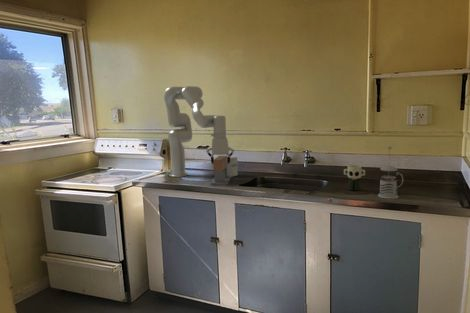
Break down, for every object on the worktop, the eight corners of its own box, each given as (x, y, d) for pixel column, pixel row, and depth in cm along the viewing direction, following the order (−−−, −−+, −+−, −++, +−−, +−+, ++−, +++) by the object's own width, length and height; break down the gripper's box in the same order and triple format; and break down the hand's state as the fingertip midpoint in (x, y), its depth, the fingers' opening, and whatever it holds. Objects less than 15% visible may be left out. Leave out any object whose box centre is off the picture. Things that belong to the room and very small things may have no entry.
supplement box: (231, 177, 249) (230, 158, 247) (222, 176, 254) (222, 157, 252) (238, 175, 255) (237, 156, 253) (229, 174, 259) (228, 156, 258)
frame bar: (213, 171, 226) (213, 159, 225) (219, 166, 244) (219, 155, 243) (221, 171, 226) (221, 159, 225) (227, 166, 243) (226, 155, 242)
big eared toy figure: (342, 190, 203) (343, 166, 201) (344, 187, 209) (344, 164, 208) (364, 191, 199) (364, 167, 197) (365, 189, 205) (365, 165, 204)
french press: (380, 193, 195) (381, 144, 192) (404, 195, 189) (406, 145, 186) (375, 197, 187) (376, 146, 184) (400, 199, 181) (402, 147, 178)
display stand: (210, 185, 225) (210, 171, 224) (215, 178, 247) (215, 166, 246) (227, 185, 224) (227, 171, 223) (230, 178, 246) (230, 165, 245)
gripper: (204, 136, 229) (205, 164, 231) (233, 136, 228) (234, 164, 230) (206, 135, 236) (207, 162, 239) (234, 135, 235) (235, 162, 237)
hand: (220, 163), depth 234 cm, fingers open, 9 cm apart
